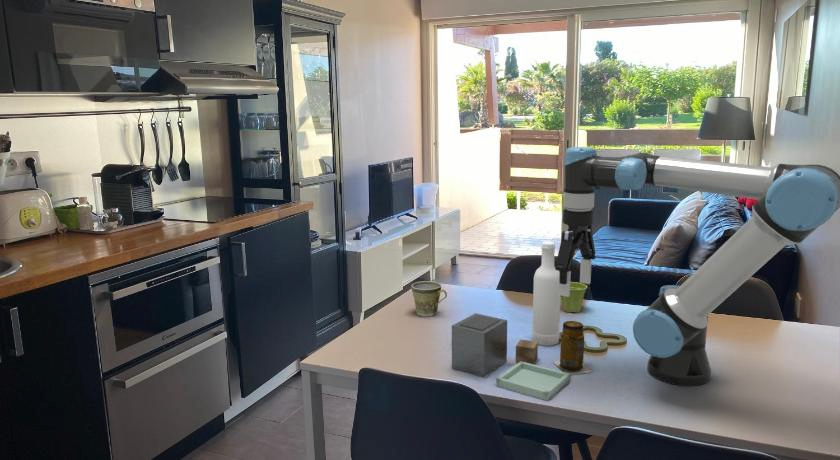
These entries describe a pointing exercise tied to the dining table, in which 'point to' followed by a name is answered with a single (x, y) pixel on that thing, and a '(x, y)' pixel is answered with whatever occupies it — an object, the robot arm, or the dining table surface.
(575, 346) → the condiment
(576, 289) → the plant pot
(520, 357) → the walnut block
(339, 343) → the dining table surface
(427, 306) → the ceramic cup
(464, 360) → the unit
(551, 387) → the tray
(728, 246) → the robot arm
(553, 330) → the bottle
